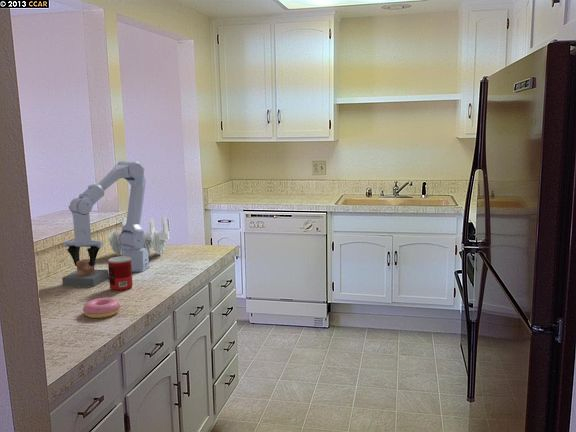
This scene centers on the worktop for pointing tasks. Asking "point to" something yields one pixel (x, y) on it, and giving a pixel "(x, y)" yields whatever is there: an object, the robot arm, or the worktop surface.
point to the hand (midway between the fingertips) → (85, 265)
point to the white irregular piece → (151, 238)
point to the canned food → (120, 273)
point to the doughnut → (101, 307)
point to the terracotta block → (84, 267)
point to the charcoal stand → (85, 278)
